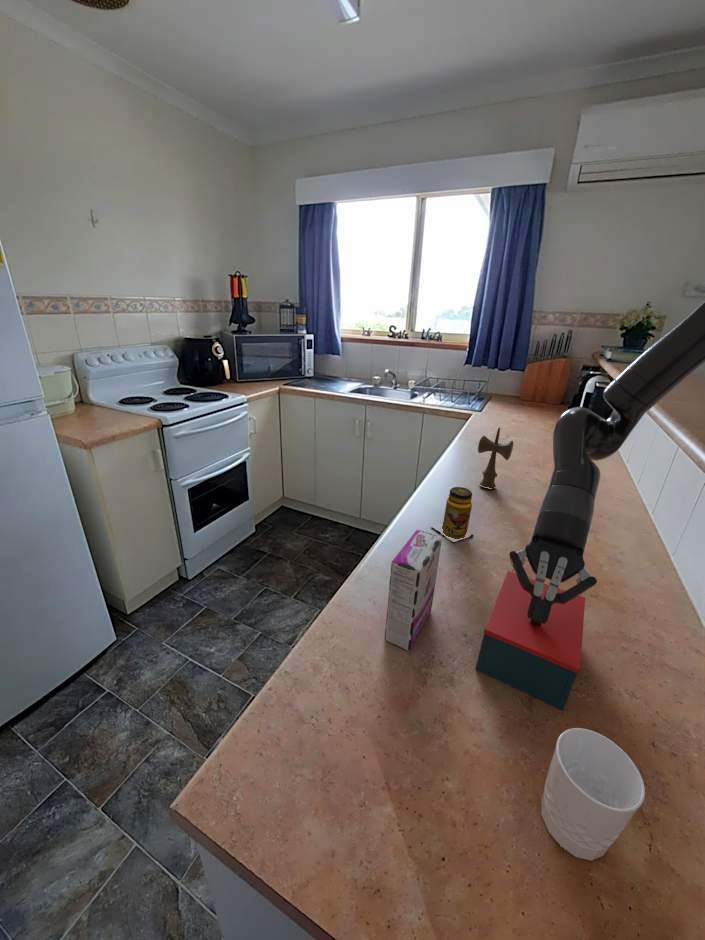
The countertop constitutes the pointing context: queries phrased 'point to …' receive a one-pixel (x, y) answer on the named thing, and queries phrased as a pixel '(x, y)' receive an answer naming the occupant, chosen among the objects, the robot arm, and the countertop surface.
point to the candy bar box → (412, 588)
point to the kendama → (493, 457)
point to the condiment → (457, 513)
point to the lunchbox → (525, 671)
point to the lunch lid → (546, 641)
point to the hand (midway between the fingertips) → (535, 623)
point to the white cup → (589, 793)
